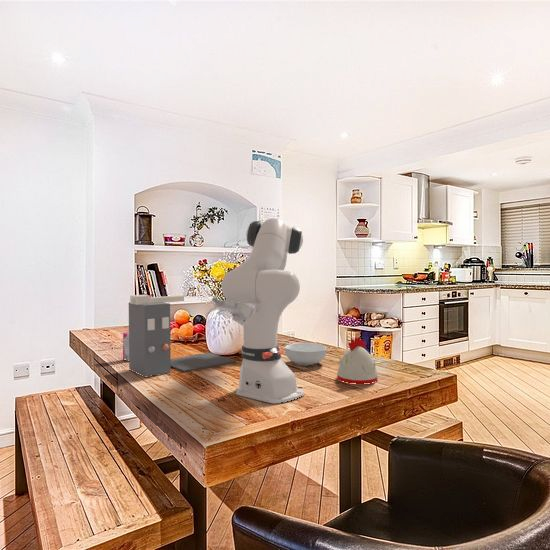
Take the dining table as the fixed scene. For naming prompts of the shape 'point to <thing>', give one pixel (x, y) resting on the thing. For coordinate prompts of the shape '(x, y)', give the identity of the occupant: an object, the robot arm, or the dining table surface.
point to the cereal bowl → (305, 353)
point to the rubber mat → (199, 361)
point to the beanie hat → (357, 364)
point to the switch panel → (149, 338)
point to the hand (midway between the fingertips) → (219, 299)
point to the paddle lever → (153, 299)
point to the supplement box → (126, 346)
